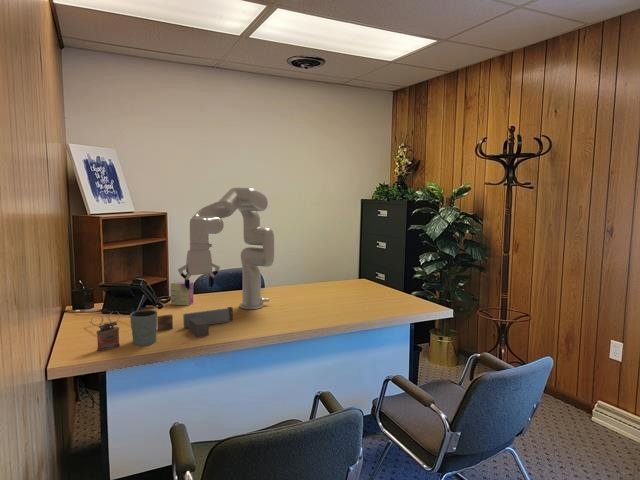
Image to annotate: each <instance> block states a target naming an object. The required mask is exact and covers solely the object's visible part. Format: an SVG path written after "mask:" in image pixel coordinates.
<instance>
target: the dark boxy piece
mask: <svg viewBox="0 0 640 480" xmlns="http://www.w3.org/2000/svg"><path fill="white" fill-rule="evenodd" d="M209 326H210V324H209V323H208V322H206V321H205V320H203V319H202V318H201V317H198V318H191V319H189V327H188V331H189V332H190V333H191V334H192V335H194V336H195V337H196V338H202V337H207V336H210V335H209V333H210V332H209V330H210V328H209Z"/></svg>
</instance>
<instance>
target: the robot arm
mask: <svg viewBox="0 0 640 480" xmlns="http://www.w3.org/2000/svg"><path fill="white" fill-rule="evenodd" d="M267 208H268V198H267V197H266V195H265V194H263V193H262V192H260V191H259V190H257V189H255V188H251V187H232V188H230V189H229V190H228V191H227V192H226V193H225V194H224V195H223V196H222V198H220V199H219V200H218V201H217V202H213V203H211V204H209V205H206V206H204V207H202V208H200V209H199V210H198V211H196V212H195V214H194V215H193V216H192V217H191V218H189V249H188V250H187V252H186V259H185V263H186V264H185V265H183V266H181V267H180V268H178V269H177V272H178V273H179V274H180V276H181V277H182V278H183V279H184V282H185V287H186V288H187V289H190V282H191V281H190V277H191V276H197V275H209V277H208V286H209V287H211V288H213V287H214V284H215V282H214V281H215V277H216V275H218V274H219V273H218V272H219V271H220V269H221V266H219V265H217V264H215V263H214V262H213V260H212V253H211V250H210V248H212V247H213V244H212V243H210V241H209V236H210V235H216V234H219V233H221V232H222V231H223V230H224V227H225V225H224V221H223V219H225V218H228V217H230V216H232V215H233V214H234V213H235V212H236V211H237V210H239V212H240V214H241V215H242V220H243V222H242V223H243V241H244V243H245V244H247V245H250V246H249V247H248V246H247V247H245V248H243V249H242V250H241V251H240V262H241V268H242V292H241V293H242V294H241V295H242V298H241V299H242V300H241V301H242V302H241V303H239V308H241V309H245V310H259V309H262V308H264V303H267V302H268V303H269V302H270V298H269V297H267V298H266V297H261V294H262V293H261V289H262V287H261V285H262V274H261V273H262V272H261V270H260V268H259V267H264V268H267V267H271V266H272V265H273V264H274V261H275V234H274V232H273V230H272V229H271V228H269V227H263V226H261V217H260V214H259V212H265V210H266V209H267ZM252 246H253V247H252ZM254 246H260V247H254ZM213 268H214V270H213ZM183 271H185V273H184V272H183Z"/></svg>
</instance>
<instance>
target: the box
mask: <svg viewBox="0 0 640 480" xmlns="http://www.w3.org/2000/svg"><path fill="white" fill-rule="evenodd" d="M193 304H194V282H193V281H190V289H187V288H186V287H185V281H183V280H182V281H181V280H174V281H172V282H170V305H173V306H174V305H175V306H176V305H177V306H187V307H189V306H191V305H193Z"/></svg>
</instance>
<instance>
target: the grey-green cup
mask: <svg viewBox="0 0 640 480" xmlns="http://www.w3.org/2000/svg"><path fill="white" fill-rule="evenodd" d="M157 316H158V311H157V310H154V309H141V310H136V311H135V310H134V311H133V312H131V313H130V314H129V317H130V318H129V319H130V327H131V328H130V329H131V335H132V344H133V345H135V346H138V347H145V346H150V345H154V344H155V343H156V342H157V331H158V327H157Z"/></svg>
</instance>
